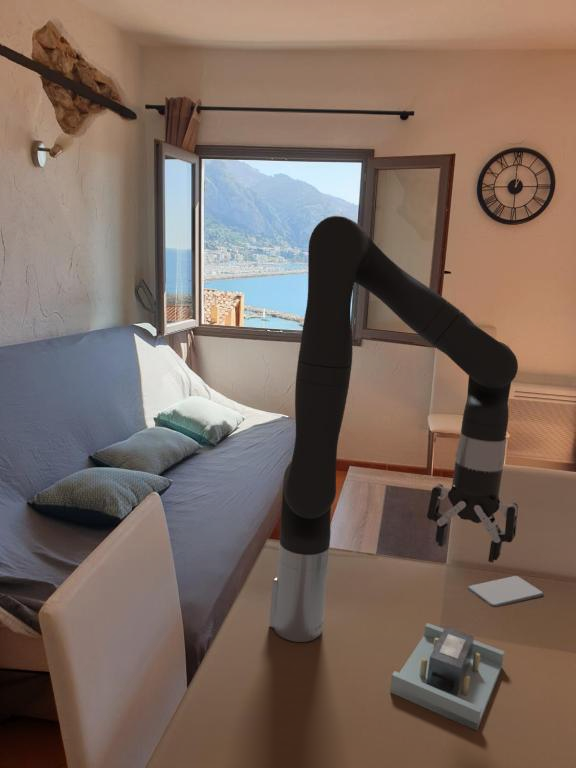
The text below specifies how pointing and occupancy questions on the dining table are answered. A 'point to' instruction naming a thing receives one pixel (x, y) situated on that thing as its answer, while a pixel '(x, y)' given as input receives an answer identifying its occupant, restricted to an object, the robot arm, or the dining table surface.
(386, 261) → the robot arm
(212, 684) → the dining table surface
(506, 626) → the dining table surface
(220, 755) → the dining table surface
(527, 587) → the smartphone
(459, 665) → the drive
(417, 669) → the tray
